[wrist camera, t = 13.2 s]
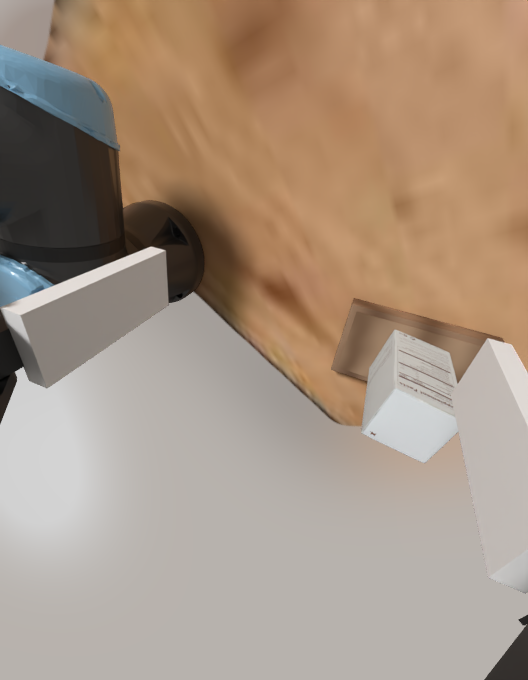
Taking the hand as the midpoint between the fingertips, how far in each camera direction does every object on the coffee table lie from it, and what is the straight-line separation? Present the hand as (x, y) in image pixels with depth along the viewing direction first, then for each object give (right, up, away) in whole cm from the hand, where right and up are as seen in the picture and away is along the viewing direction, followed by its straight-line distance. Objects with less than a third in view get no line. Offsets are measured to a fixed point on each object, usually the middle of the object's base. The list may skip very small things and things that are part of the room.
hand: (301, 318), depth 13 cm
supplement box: (+17, -3, +28) cm, 33 cm away
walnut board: (+18, -2, +30) cm, 35 cm away
